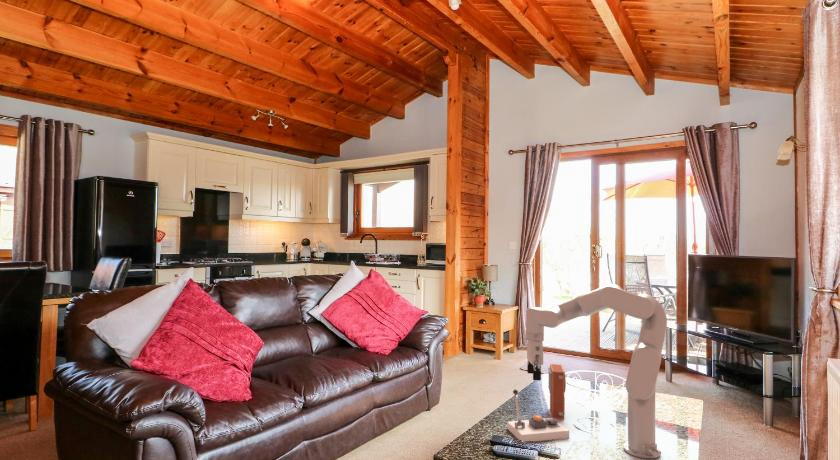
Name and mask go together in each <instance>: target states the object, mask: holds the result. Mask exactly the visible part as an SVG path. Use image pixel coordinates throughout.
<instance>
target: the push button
mask: <svg viewBox="0 0 840 460" xmlns="http://www.w3.org/2000/svg"><path fill="white" fill-rule="evenodd" d="M532 418H533V421H534V422H542V419H543V417H542V415H540V414H538V415H537V414H535V415H532Z"/></svg>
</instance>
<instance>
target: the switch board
mask: <svg viewBox="0 0 840 460" xmlns="http://www.w3.org/2000/svg"><path fill="white" fill-rule="evenodd" d="M547 419H553V418H552V417H545V418H543V417H542V422H534V421H533V417H529V418H528V419H524V420H522V419H521V422H523V426H518V423H517V422H518V420H513V421H512V420H511V421H510V420H509V421H507V423H506V424H507V425H506V427H507V430H508V431H509V432H510V433H511V434H512V435H513V436H514V437H515V438H516V439H517V440H518V441H520V440H521V441H531V442H530V443H532V441H533V442H540V441H541V442H542V441H551V440H552V439H553V440H561V439H563V440H564V439H569V438H570V430H569V429H568V428H566V427H565V426H564V425H563V424H562V423H560V422H558V423H553V424H550V423H548V420H547ZM555 420H558V421H559V419H555ZM553 440H552V441H553ZM521 441H520V442H521Z"/></svg>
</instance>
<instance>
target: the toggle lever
mask: <svg viewBox="0 0 840 460" xmlns="http://www.w3.org/2000/svg"><path fill="white" fill-rule="evenodd" d="M512 393H513V395H514V401H515V402H514V403H515V408H516V409H515V410H516V416H517V421H518V422H517V423H518V426H523V422H521V420H522V419H521V411H520V404H519V397H518V393H519V391H518V389H513V390H512Z"/></svg>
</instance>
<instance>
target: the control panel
mask: <svg viewBox="0 0 840 460" xmlns="http://www.w3.org/2000/svg"><path fill="white" fill-rule="evenodd" d="M547 370H548V391H549V410H550V414H551V418H553V419H558V420H565V416H566V415H565V414H566V413H565V412H566V411H565V410H566V409H565V402H566V401H565V398H566V397H565V393H566V389H567V388H566V382H567V381H566V380H567V379H566V372H565V370H564V367H563V365H562V364H557V363H550V364H549V367H548V369H547Z"/></svg>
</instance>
